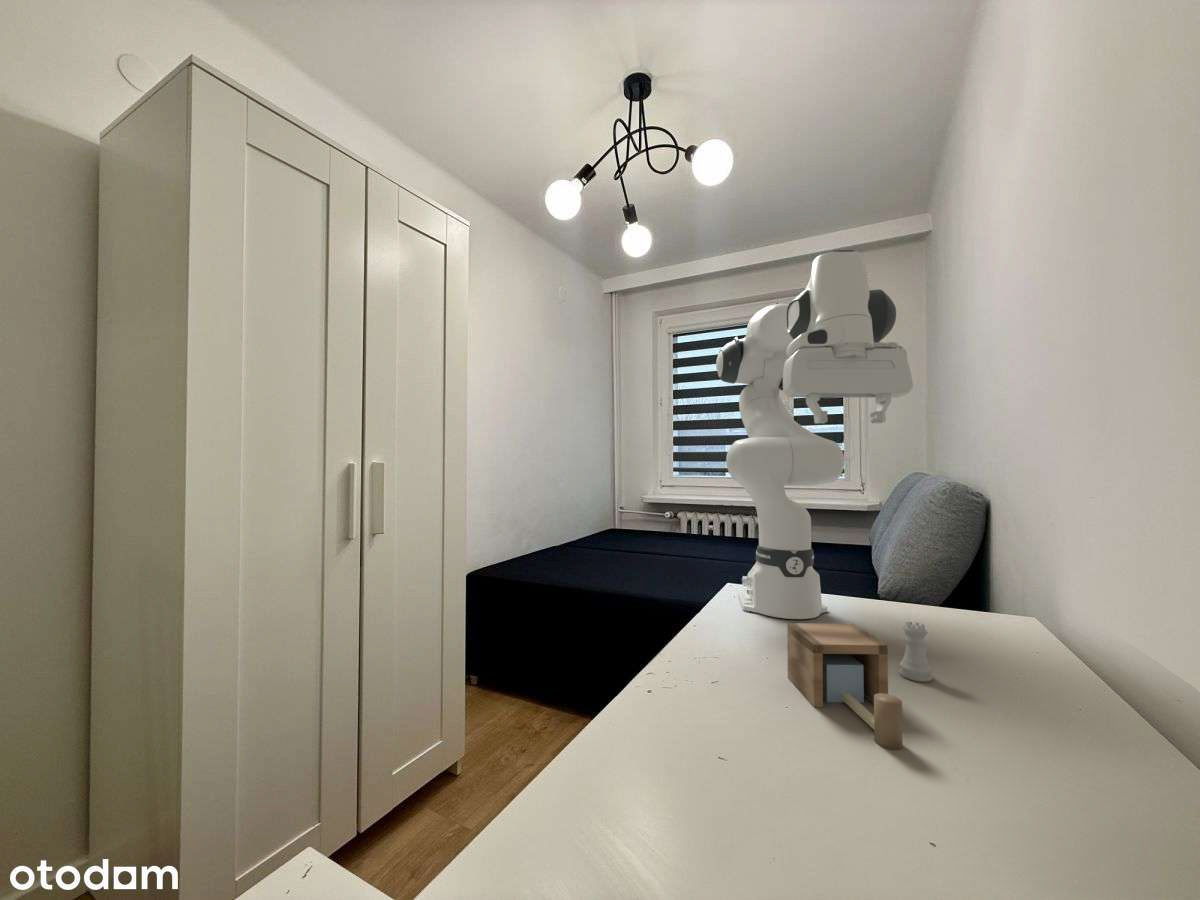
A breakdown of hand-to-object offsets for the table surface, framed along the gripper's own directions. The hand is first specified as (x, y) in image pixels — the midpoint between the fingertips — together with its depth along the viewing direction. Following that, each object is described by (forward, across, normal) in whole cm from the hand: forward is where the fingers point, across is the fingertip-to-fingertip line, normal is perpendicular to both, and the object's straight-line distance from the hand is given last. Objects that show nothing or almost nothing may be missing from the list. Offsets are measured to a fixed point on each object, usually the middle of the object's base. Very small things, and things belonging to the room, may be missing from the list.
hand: (849, 422), depth 81 cm
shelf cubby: (+40, +7, +5) cm, 41 cm away
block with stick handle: (+41, +7, +10) cm, 43 cm away
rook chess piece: (+40, -8, -1) cm, 40 cm away
